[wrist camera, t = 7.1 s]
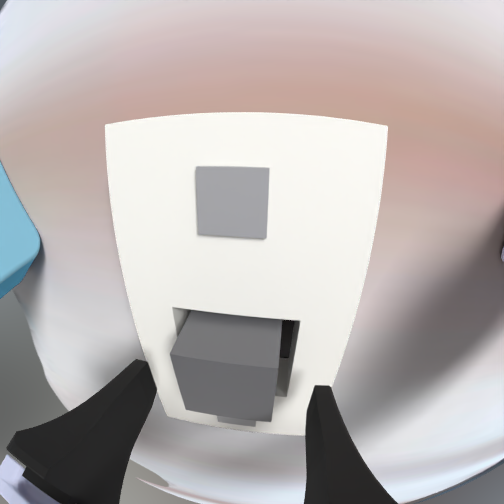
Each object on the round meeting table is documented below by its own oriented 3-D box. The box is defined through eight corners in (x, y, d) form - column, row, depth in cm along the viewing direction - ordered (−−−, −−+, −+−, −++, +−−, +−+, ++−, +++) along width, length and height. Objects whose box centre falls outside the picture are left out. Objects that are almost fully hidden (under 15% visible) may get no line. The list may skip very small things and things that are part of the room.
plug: (284, 285, 14) (278, 368, 9) (278, 343, 16) (271, 422, 11) (207, 279, 14) (169, 353, 10) (212, 336, 16) (185, 409, 11)
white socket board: (364, 126, 10) (389, 126, 7) (311, 402, 18) (311, 438, 15) (141, 122, 11) (101, 125, 8) (179, 386, 19) (166, 418, 16)
